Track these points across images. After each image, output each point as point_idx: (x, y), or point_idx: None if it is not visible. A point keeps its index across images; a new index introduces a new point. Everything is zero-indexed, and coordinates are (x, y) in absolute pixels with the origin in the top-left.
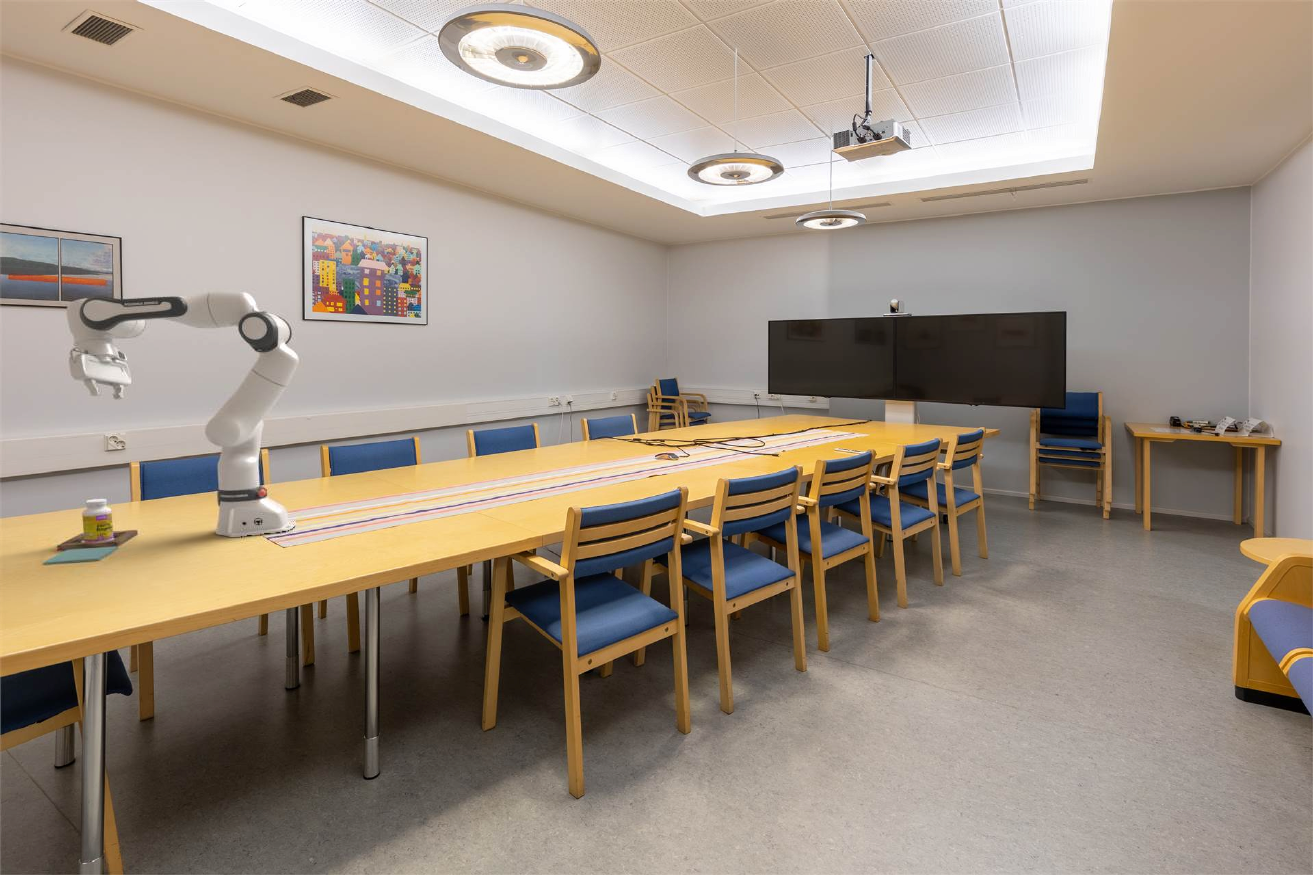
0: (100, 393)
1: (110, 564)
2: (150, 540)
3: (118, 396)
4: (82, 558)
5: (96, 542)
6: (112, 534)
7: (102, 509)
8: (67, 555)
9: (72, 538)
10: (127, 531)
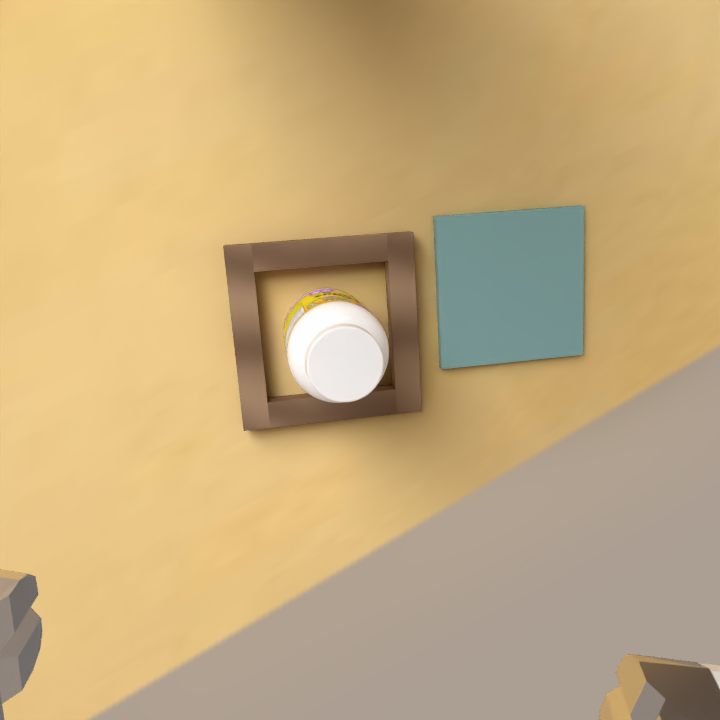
0: (654, 677)
1: (637, 145)
2: (334, 150)
3: (11, 616)
4: (569, 258)
5: (405, 302)
6: (322, 290)
7: (362, 323)
8: (518, 326)
9: (325, 417)
10: (246, 272)
